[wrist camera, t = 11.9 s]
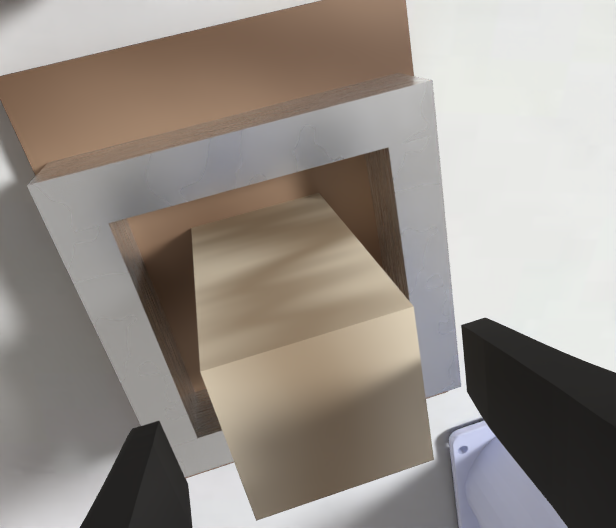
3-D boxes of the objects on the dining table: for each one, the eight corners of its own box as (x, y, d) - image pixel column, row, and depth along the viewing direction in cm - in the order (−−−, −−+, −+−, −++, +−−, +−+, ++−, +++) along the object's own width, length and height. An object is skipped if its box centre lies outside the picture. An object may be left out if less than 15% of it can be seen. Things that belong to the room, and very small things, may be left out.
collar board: (439, 380, 23) (477, 431, 20) (177, 466, 22) (176, 533, 19) (393, -17, 16) (441, -26, 13) (-1, 76, 15) (-44, 89, 12)
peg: (318, 192, 18) (413, 306, 11) (341, 302, 20) (433, 459, 12) (191, 228, 17) (200, 371, 10) (227, 336, 19) (256, 520, 12)
